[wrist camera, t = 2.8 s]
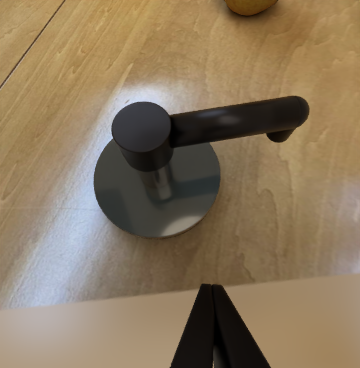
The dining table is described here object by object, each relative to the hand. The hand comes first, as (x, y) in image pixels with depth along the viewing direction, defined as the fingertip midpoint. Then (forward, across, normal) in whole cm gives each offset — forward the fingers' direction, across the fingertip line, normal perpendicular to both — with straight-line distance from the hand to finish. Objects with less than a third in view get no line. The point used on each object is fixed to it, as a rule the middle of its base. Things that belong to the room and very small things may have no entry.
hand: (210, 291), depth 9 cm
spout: (+11, 0, -3) cm, 11 cm away
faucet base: (+14, +4, +1) cm, 14 cm away
